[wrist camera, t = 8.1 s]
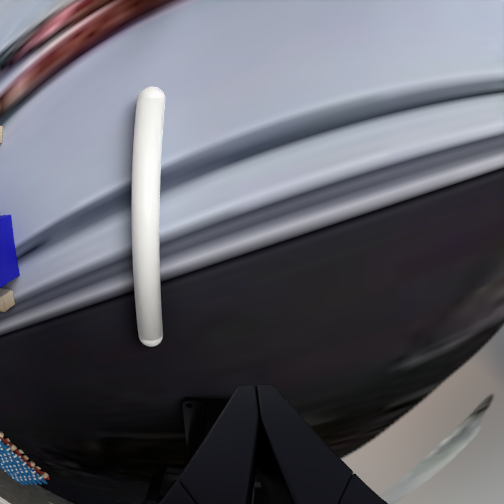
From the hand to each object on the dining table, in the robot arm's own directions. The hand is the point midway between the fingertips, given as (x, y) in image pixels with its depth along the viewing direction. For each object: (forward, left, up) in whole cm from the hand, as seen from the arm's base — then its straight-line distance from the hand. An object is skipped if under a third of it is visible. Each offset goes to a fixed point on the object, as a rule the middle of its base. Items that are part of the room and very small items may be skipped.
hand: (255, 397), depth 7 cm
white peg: (+2, +6, -12) cm, 13 cm away
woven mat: (-30, +31, -13) cm, 45 cm away
